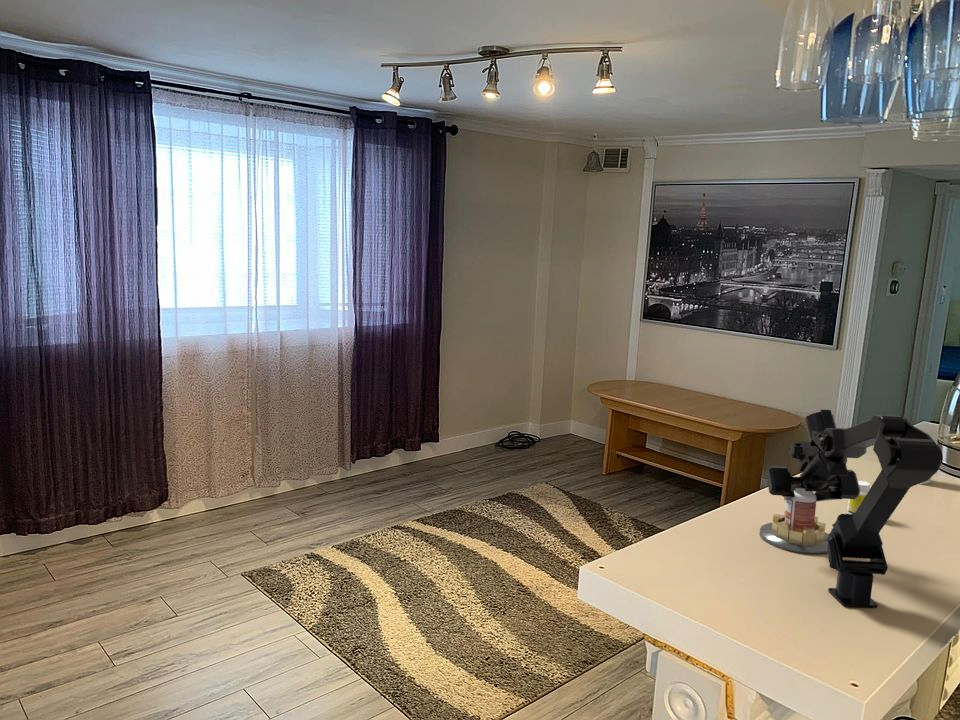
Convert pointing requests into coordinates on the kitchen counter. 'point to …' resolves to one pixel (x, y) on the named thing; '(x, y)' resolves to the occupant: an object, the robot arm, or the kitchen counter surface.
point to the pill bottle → (801, 509)
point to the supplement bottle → (858, 497)
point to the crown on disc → (796, 536)
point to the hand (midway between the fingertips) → (799, 499)
